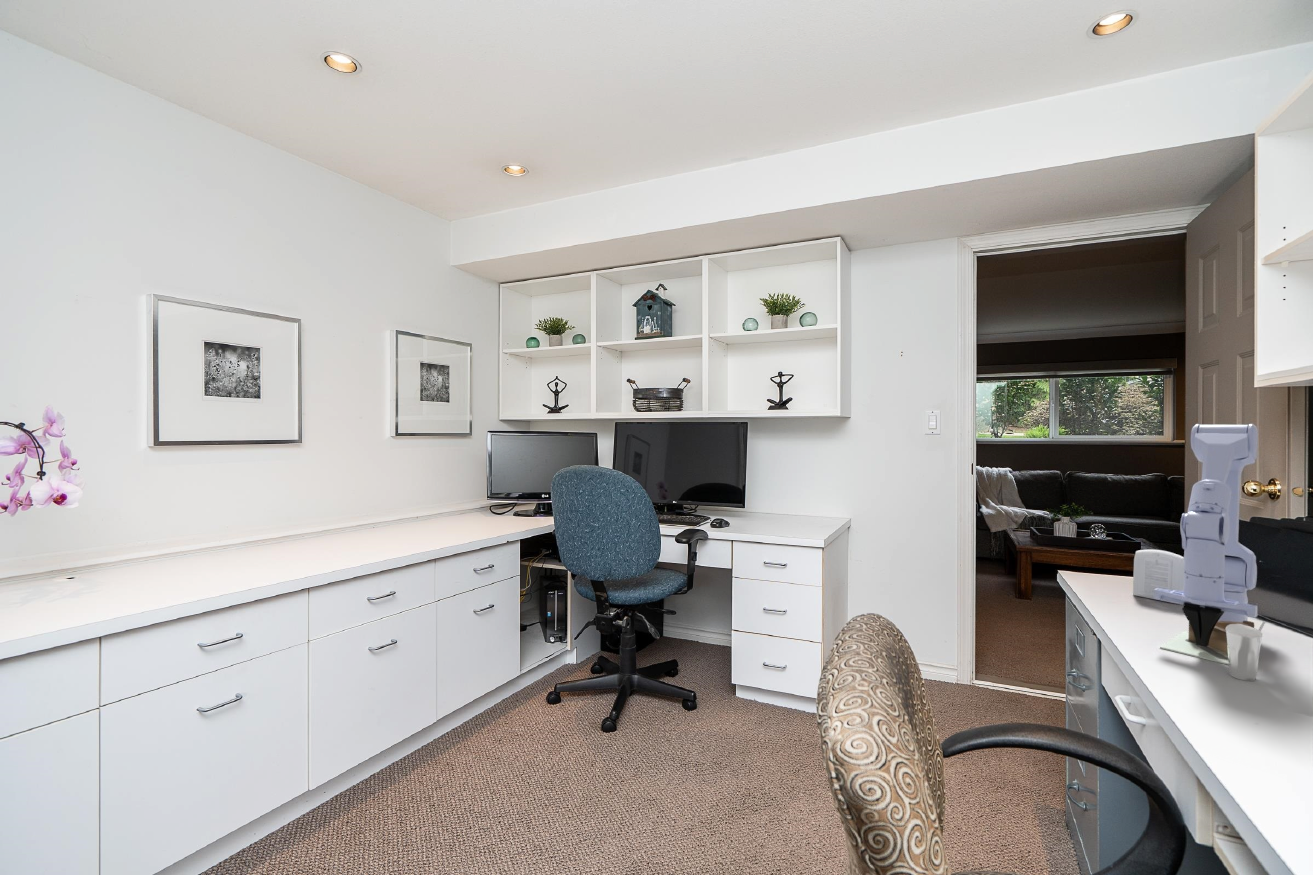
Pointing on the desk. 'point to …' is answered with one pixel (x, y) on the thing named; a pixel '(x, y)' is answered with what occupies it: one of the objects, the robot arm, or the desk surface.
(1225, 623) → the fence fixed
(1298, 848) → the desk surface
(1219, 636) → the fence wing
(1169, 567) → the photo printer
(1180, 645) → the card
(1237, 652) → the milkshake
